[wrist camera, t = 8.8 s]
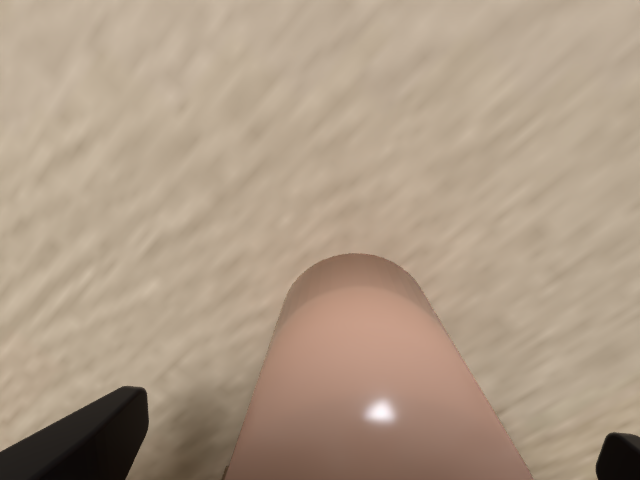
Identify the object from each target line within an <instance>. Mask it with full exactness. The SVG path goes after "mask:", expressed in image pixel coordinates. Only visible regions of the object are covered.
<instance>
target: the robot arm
mask: <svg viewBox="0 0 640 480" xmlns="http://www.w3.org/2000/svg"><path fill="white" fill-rule="evenodd" d="M148 425H149V416H148V401H147V392H146V390H145V389H144V388H142V387H134V386H123V387H121V388H119V389H117V390H115V391H113V392H111V393H109V394H107V395H105V396H104V397H102V398H100V399H98V400H96V401H94V402H92V403H91V404H89V405H87V406H85V407H83V408H81V409H79V410H77V411H76V412H74V413H72V414H70V415H68V416H66V417H64V418H62V419H61V420H59V421H57V422H55V423H53V424H51V425H49V426H48V427H46V428H44V429H42V430H40V431H38V432H36V433H34V434H33V435H31V436H29V437H27V438H25V439H23V440H21V441H20V442H18V443H16V444H14V445H12V446H10V447H8V448H6V449H5V450H3V451H1V452H0V480H125V479H126V477H127V475H128V473H129V470H130V468H131V466H132V464H133V462H134V460H135V457H136V455H137V453H138V451H139V449H140V447H141V444H142V442H143V440H144V438H145V436H146V433H147V430H148ZM596 475H597V478H598V480H640V437H638V436H636V435H633V434H626V433H616V432H613V433H610V434H608V435H607V436H606V438H605V440H604V443H603V446H602V449H601V452H600V454H599V457H598V460H597V463H596Z"/></svg>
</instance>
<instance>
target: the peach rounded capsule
mask: <svg viewBox="0 0 640 480" xmlns="http://www.w3.org/2000/svg"><path fill="white" fill-rule="evenodd" d="M224 480H534V479H533V477H532V475H531V473H530V472H529V470H528V468H527V466H526V464H525V462H524V461H523V459H522V457H521V456H520V454H519V452H518V451H517V449H516V447H515V446H514V444H513V442H512V441H511V439H510V437H509V436H508V434H507V432H506V430H505V429H504V427H503V425H502V424H501V422H500V420H499V419H498V417H497V415H496V414H495V412H494V410H493V409H492V407H491V405H490V404H489V402H488V400H487V398H486V397H485V395H484V393H483V392H482V390H481V388H480V387H479V385H478V383H477V382H476V380H475V378H474V377H473V375H472V373H471V372H470V370H469V368H468V367H467V365H466V363H465V361H464V360H463V358H462V356H461V355H460V353H459V351H458V350H457V348H456V346H455V345H454V343H453V341H452V340H451V338H450V336H449V335H448V333H447V331H446V330H445V328H444V326H443V324H442V323H441V321H440V319H439V318H438V316H437V314H436V313H435V311H434V309H433V308H432V306H431V304H430V303H429V301H428V299H427V298H426V296H425V294H424V292H423V291H422V289H421V287H420V286H419V285H418V283H417V282H416V281H415V279H414V278H413V277H412V276H411V275H410V274H409V273H408V272H406V271H405V270H404V269H403V268H401V267H400V266H398V265H396V264H395V263H393V262H391V261H389V260H386V259H384V258H381V257H378V256H374V255H368V254H355V253H352V254H342V255H338V256H333V257H330V258H328V259H325V260H322V261H320V262H318V263H317V264H315V265H313V266H312V267H310V268H309V269H307V270H306V271H305V272H304V273H303V274H302V275H300V276H299V277H298V279H297V280H296V281H295V282H294V283H293V285H292V286H291V288H290V290H289V291H288V293H287V296H286V298H285V300H284V303H283V306H282V309H281V312H280V315H279V318H278V321H277V324H276V327H275V330H274V333H273V336H272V339H271V342H270V345H269V348H268V351H267V354H266V357H265V360H264V363H263V366H262V369H261V372H260V375H259V378H258V381H257V384H256V387H255V390H254V393H253V396H252V399H251V402H250V405H249V408H248V411H247V413H246V416H245V419H244V422H243V425H242V428H241V431H240V434H239V437H238V440H237V443H236V446H235V449H234V452H233V455H232V458H231V461H230V464H229V467H228V470H227V473H226V476H225V479H224Z"/></svg>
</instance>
